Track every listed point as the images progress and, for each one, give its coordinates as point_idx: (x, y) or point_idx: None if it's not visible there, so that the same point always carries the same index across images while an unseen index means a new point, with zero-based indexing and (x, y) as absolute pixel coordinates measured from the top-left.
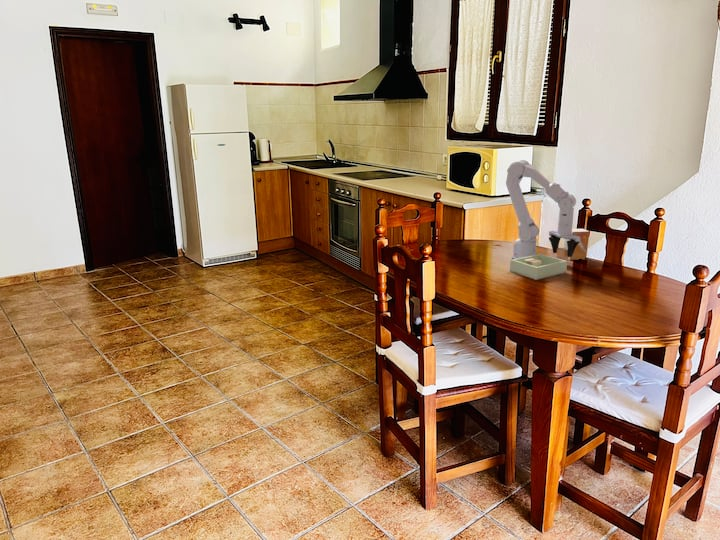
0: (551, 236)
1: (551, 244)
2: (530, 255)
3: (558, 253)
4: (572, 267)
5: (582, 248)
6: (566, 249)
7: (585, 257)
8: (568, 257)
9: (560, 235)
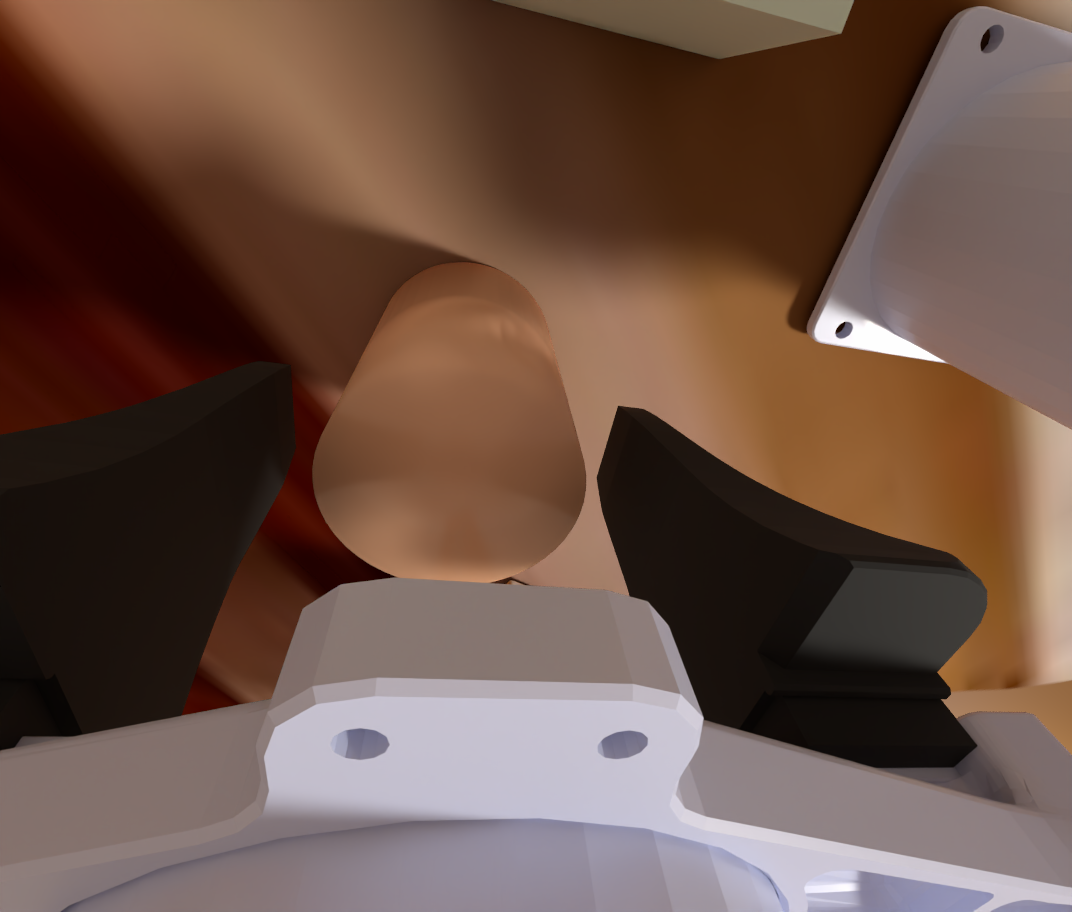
0: (922, 697)
1: (757, 483)
2: (1008, 141)
3: (478, 335)
4: (278, 346)
5: None
6: (394, 524)
7: None
8: None
9: (271, 727)
